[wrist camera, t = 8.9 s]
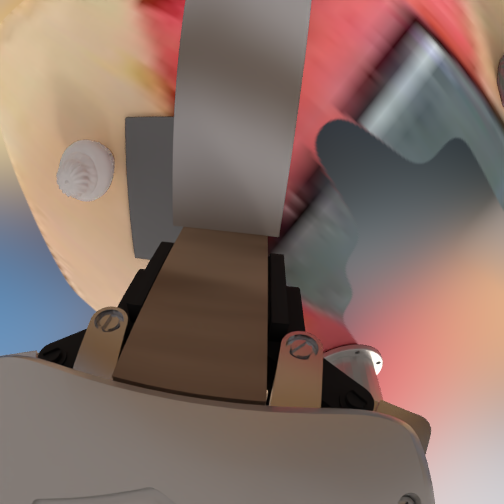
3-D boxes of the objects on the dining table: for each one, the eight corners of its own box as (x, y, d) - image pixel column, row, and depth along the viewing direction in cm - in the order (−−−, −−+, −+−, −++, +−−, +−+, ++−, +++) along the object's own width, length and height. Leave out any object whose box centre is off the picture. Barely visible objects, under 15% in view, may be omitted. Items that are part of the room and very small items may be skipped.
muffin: (79, 130, 25) (39, 147, 19) (129, 134, 25) (93, 152, 19) (78, 183, 28) (43, 210, 22) (125, 191, 28) (94, 221, 22)
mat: (193, 262, 33) (192, 264, 33) (136, 256, 33) (135, 257, 32) (196, 117, 24) (195, 117, 24) (127, 117, 24) (125, 117, 24)
